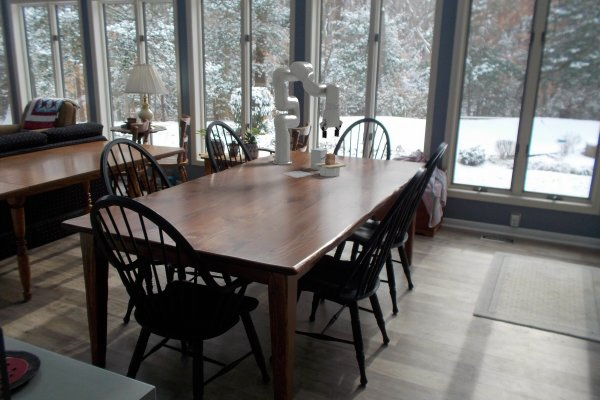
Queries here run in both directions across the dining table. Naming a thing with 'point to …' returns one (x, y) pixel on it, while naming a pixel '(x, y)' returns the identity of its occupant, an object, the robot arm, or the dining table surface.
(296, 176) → the mat
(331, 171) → the bowl
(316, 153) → the supplement box
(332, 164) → the lid
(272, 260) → the dining table surface
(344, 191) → the dining table surface
